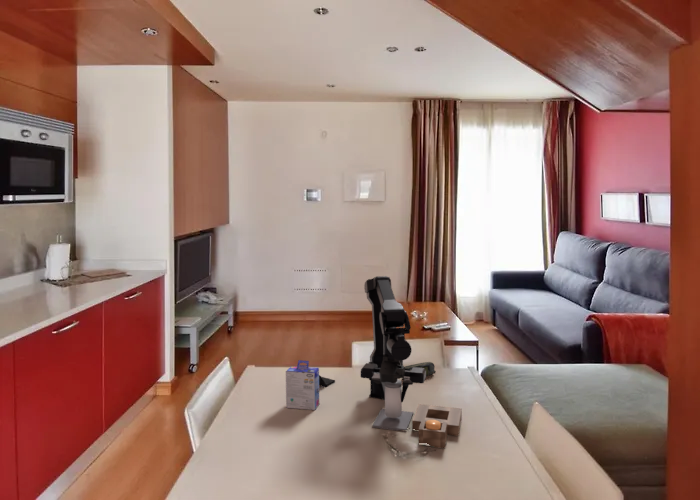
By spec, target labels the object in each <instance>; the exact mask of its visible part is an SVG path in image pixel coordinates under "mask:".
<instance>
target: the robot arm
mask: <svg viewBox="0 0 700 500" xmlns="http://www.w3.org/2000/svg"><path fill="white" fill-rule="evenodd" d="M363 286H364V287H363V288H364V293H366V299H367V300H368V302H369V304H370V305H371V313H372V314H371V315H372V317H371V318H372V332H373V333H372V334H373V335H372V336H373V337H372V338H373V349H372V352H371V354H370V356H369V361H368V362H367V363H365V364H364V365H362V368H360V378H363V379H368V380H369V381H370V389H369V390H370V394H369V395H368V397H369V398H373V399H380V400H381V399H382V400H383V401H385V382H391V383H396V382H397V379H398V380H401V379H403V378H404V379H403V381H402V396H401V402H402V403H403V402H404V399H405V397H406V394H407V391H408V388H409V386H413V384H424V382H425V380H426V378H427V376H426V370H425V369H424V368H417V367H413V368H412V370H411V371H407V370H405V368H404V367H405V366H404V361H405V360H407V359H409V357H410V356H411V354H412V346H411V344H410V342H408V340H407V339H406V338H405V337H406V336H405V335H407V334H410V332H411V323H410V318H409V314H408V313H407V311H406V310H405V309H404V307H403V304H402V303H400V302H398V301H397V300H396V297H395V294H394V292H393V288H392V279H391V277H390V276H387V275H382V276H379V275H378V276H375V277H373V278H369V279H366V280H365V282H364V285H363Z"/></svg>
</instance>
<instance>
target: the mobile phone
mask: <svg viewBox="0 0 700 500" xmlns="http://www.w3.org/2000/svg"><path fill="white" fill-rule="evenodd" d="M435 366H436V365H435V364H434V363H433V362H432V361H426V362H420V363H416V364H414V363H413V364H410V365H409V364H408V365H406V366H404V368H405V370H407V371H411V370H412V368H413V367H417V368H424V369H425V370H426V377H429V376H431V375H433V374H434V373H436V372H437V371H436V370H435ZM428 375H429V376H428ZM402 380H404V378H402Z"/></svg>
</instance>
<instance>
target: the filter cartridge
mask: <svg viewBox="0 0 700 500" xmlns="http://www.w3.org/2000/svg"><path fill="white" fill-rule="evenodd" d="M402 383H403V381H402V380H401V379H397V382H396V383H391V382H385V400H384V409H385V415H386V416H387V417H390V418H398V417H400V416H401V415H402V411H403V409H402V408H403V407H402V403H403V402H401V396H402V387H403V385H402Z"/></svg>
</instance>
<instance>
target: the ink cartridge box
mask: <svg viewBox="0 0 700 500" xmlns="http://www.w3.org/2000/svg"><path fill="white" fill-rule="evenodd" d="M302 363H303V364H305V365H303V364H302ZM309 363H310V361H309V360H300V359H299V360H298V361H297V366H289V368H288V369H287V370H286V371H285V402H286V403H285V408H288V409H297V410H298V409H299V410H300V409H301V410H313V411H315V410H316V409H317V408H318V406H319V405H320V386H319V375H320V367H314V366H313V367H311V366H309V365H310V364H309ZM301 364H302V365H301Z"/></svg>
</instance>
